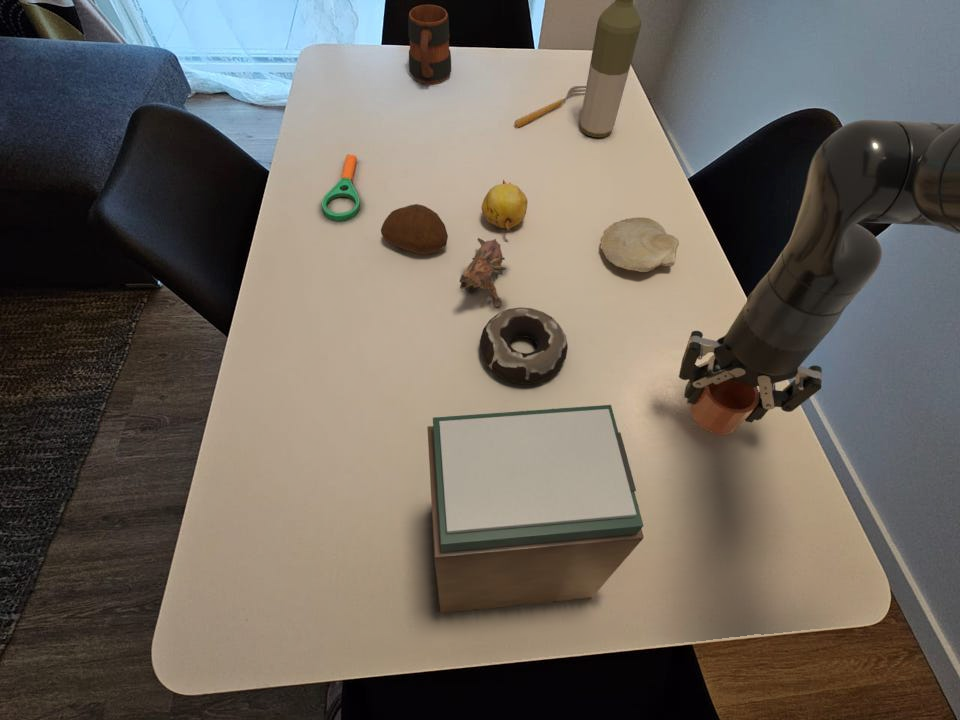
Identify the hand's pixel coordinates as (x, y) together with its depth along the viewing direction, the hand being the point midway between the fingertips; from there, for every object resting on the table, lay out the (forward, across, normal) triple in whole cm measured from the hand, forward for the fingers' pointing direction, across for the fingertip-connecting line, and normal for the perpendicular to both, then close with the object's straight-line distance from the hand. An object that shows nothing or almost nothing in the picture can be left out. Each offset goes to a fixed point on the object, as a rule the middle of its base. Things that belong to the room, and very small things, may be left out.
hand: (719, 406), depth 68 cm
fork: (+4, -38, +60) cm, 71 cm away
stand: (+5, -18, -24) cm, 30 cm away
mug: (+4, -64, +61) cm, 89 cm away
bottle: (+4, -28, +57) cm, 64 cm away
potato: (+5, -47, +16) cm, 50 cm away
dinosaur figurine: (+5, -34, +12) cm, 37 cm away
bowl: (+1, 0, 0) cm, 1 cm away
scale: (-15, -18, -24) cm, 34 cm away
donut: (+5, -25, +2) cm, 26 cm away
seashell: (+5, -14, +27) cm, 31 cm away
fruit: (+5, -36, +26) cm, 45 cm away
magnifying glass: (+4, -63, +23) cm, 67 cm away
